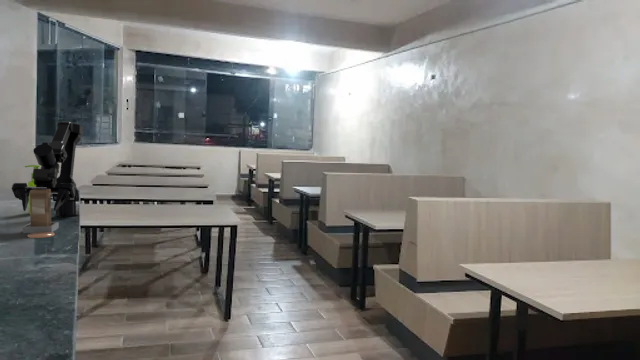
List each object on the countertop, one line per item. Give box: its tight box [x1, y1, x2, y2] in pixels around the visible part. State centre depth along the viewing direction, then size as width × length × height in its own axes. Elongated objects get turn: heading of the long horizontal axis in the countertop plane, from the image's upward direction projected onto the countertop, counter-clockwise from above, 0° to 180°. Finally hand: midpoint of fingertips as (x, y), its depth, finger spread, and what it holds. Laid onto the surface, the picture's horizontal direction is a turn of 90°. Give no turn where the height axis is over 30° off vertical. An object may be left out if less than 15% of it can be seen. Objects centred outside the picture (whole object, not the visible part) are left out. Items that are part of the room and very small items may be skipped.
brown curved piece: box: [27, 231, 55, 239], centre depth 154 cm, size 8×8×1 cm
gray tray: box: [22, 221, 60, 234], centre depth 162 cm, size 9×9×2 cm
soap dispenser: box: [23, 164, 41, 215], centre depth 195 cm, size 6×7×20 cm
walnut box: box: [29, 189, 52, 227], centre depth 161 cm, size 5×5×14 cm
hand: (39, 210), depth 160 cm, fingers open, 9 cm apart
